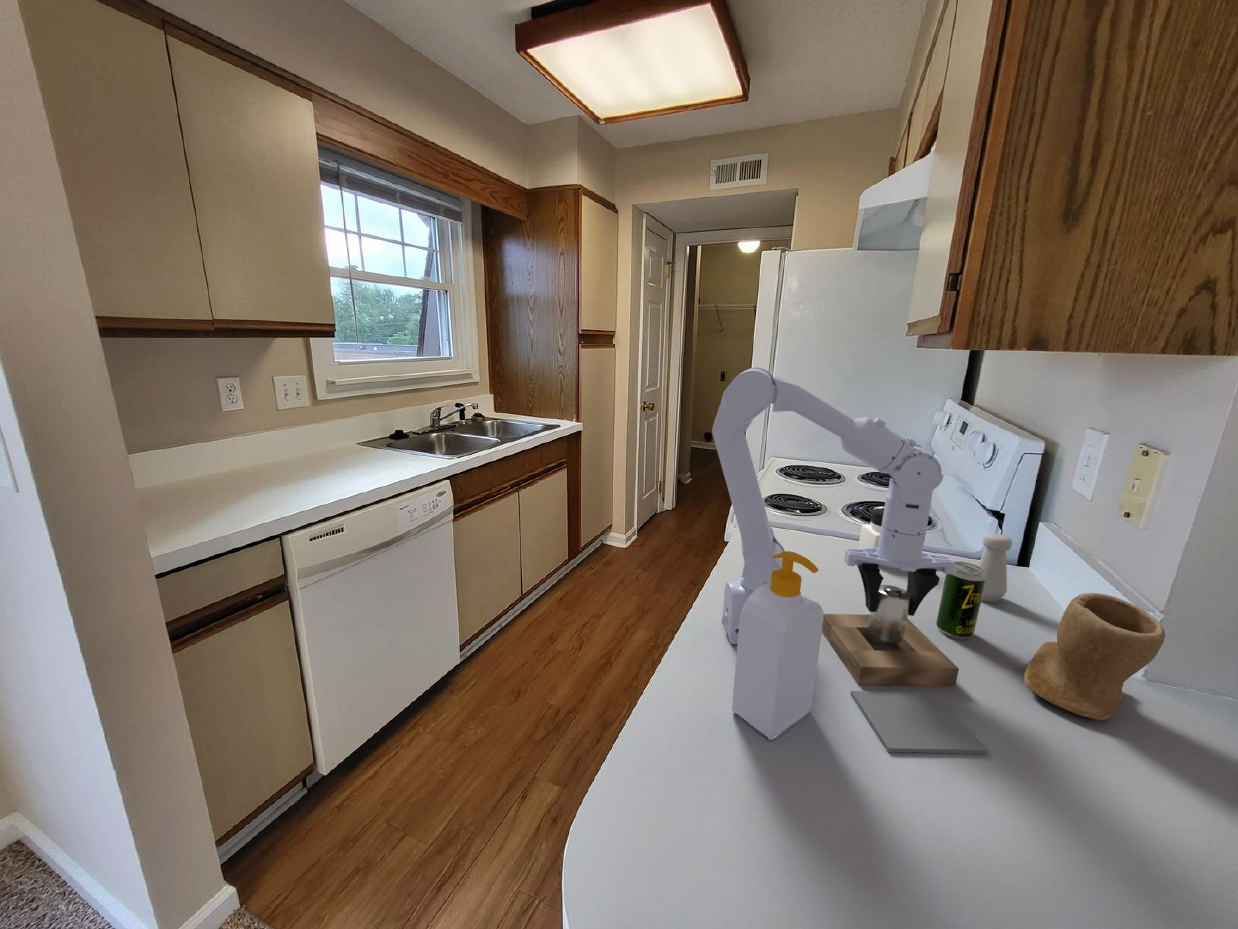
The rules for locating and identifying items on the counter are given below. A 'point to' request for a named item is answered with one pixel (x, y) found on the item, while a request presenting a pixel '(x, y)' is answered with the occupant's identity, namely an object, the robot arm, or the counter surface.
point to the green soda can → (961, 600)
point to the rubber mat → (916, 723)
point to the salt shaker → (995, 566)
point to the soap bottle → (777, 651)
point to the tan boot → (1094, 655)
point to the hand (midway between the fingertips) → (889, 610)
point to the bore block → (887, 654)
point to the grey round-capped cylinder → (890, 614)
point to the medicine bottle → (872, 530)
